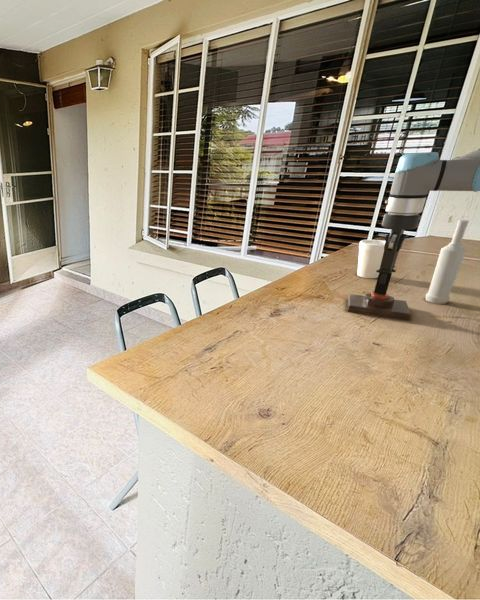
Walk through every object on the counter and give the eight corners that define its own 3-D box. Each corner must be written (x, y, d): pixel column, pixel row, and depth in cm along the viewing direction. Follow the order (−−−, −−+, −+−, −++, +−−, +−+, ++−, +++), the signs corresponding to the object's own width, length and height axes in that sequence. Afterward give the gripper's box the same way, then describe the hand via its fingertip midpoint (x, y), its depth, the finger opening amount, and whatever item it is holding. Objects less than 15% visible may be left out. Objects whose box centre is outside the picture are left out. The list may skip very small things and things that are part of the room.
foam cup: (352, 277, 133) (360, 244, 128) (352, 270, 140) (359, 238, 135) (384, 280, 127) (394, 246, 123) (382, 273, 134) (391, 240, 130)
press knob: (386, 299, 106) (388, 292, 105) (387, 303, 103) (389, 297, 102) (369, 297, 108) (371, 290, 107) (370, 301, 105) (372, 295, 104)
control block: (404, 306, 107) (407, 294, 105) (409, 320, 98) (413, 307, 97) (347, 299, 114) (350, 287, 113) (347, 311, 106) (350, 299, 105)
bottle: (429, 303, 108) (456, 221, 99) (421, 297, 112) (447, 218, 103) (451, 304, 106) (481, 221, 97) (442, 298, 110) (470, 218, 101)
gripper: (388, 209, 102) (368, 284, 111) (380, 215, 94) (359, 296, 103) (423, 210, 97) (399, 289, 106) (417, 217, 89) (392, 302, 98)
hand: (379, 293), depth 105 cm, fingers closed
